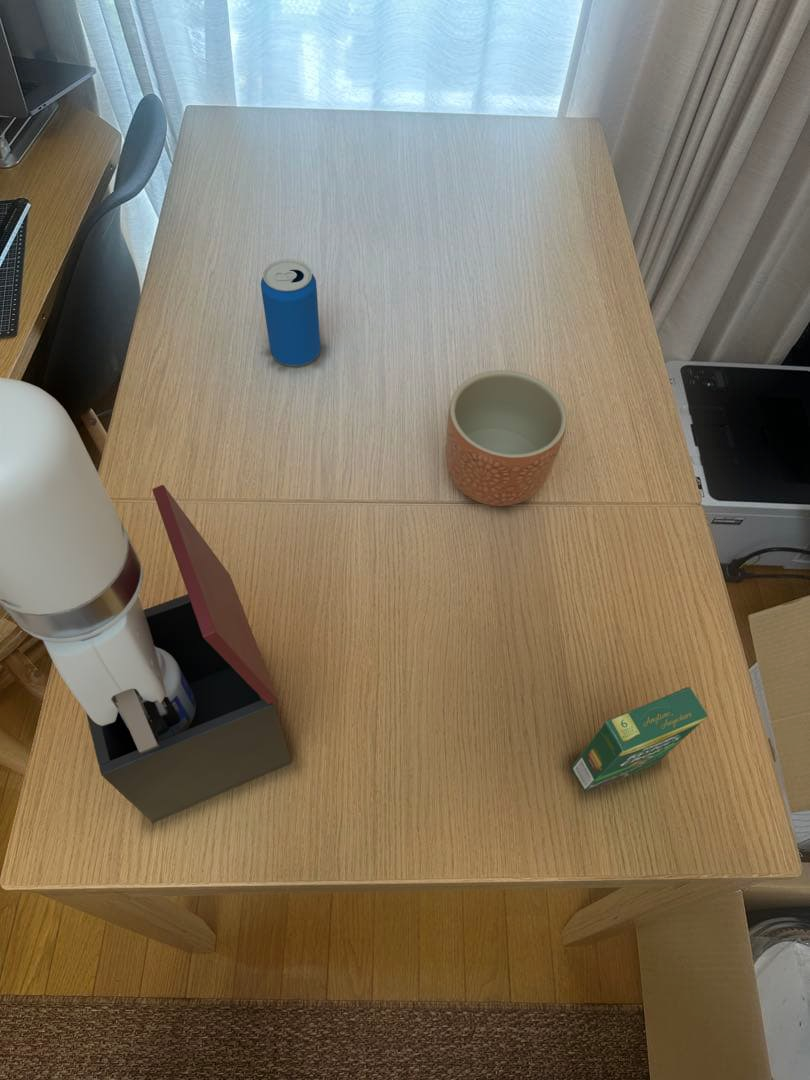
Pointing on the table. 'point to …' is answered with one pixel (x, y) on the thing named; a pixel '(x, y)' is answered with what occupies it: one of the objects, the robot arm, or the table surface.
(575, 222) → the table surface
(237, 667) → the keepsake box lid
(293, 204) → the table surface
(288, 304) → the beverage can
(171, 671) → the pill bottle
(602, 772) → the coffee box
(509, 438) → the planter
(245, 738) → the dark gray box
